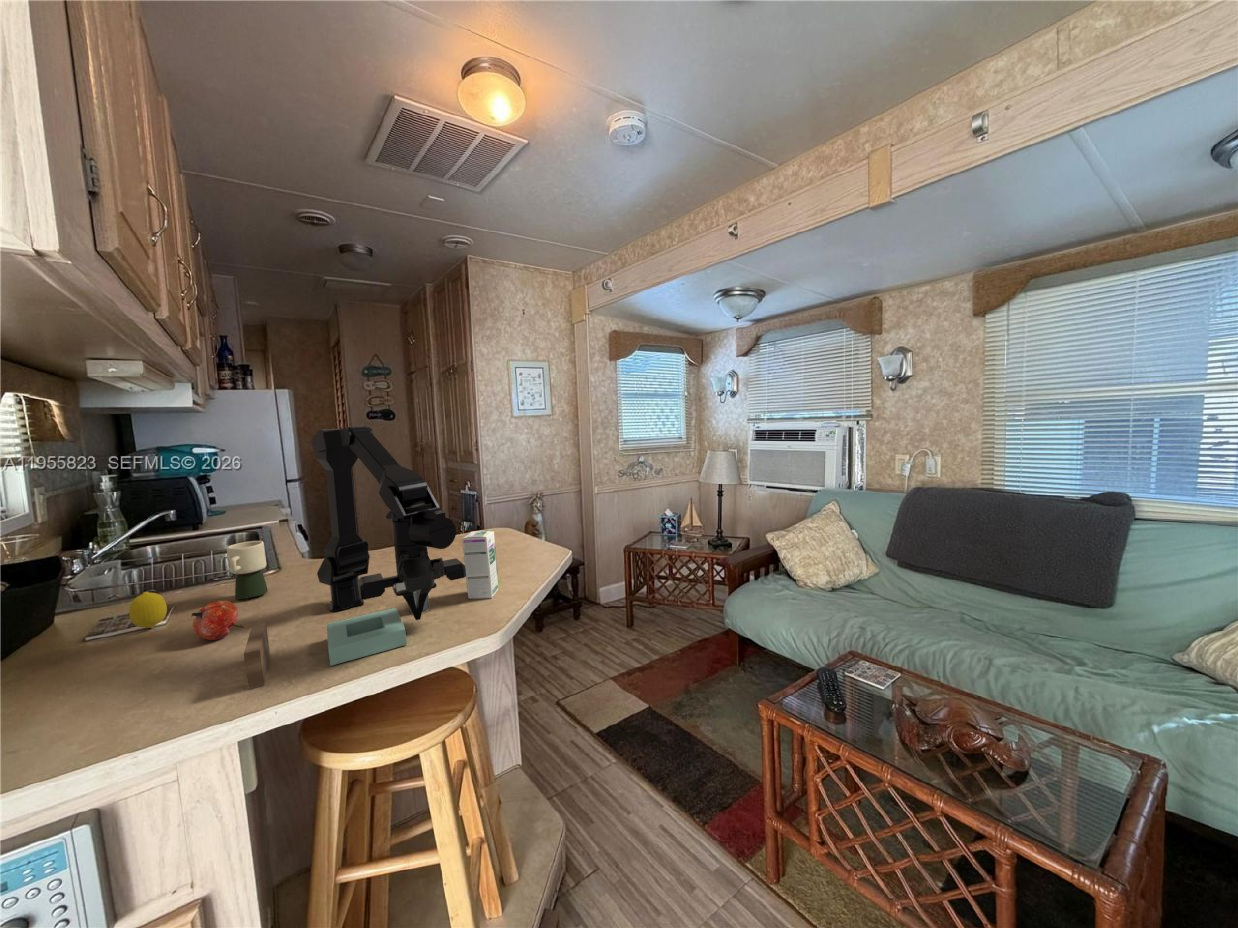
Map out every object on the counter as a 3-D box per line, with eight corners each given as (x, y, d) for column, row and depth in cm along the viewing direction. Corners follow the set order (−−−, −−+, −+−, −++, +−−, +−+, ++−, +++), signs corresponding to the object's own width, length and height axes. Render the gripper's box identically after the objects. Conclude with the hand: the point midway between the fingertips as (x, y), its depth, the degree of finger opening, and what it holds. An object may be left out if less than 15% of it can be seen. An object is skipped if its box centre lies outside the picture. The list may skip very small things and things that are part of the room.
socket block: (328, 638, 90) (326, 623, 90) (397, 621, 96) (395, 607, 96) (330, 665, 80) (328, 649, 80) (406, 644, 86) (405, 628, 86)
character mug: (249, 589, 119) (243, 539, 118) (280, 587, 120) (274, 537, 119) (220, 607, 109) (212, 552, 107) (254, 604, 110) (247, 549, 108)
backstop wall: (256, 658, 84) (252, 625, 83) (270, 654, 85) (266, 622, 84) (248, 689, 74) (243, 653, 73) (264, 685, 75) (259, 649, 74)
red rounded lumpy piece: (226, 637, 98) (171, 625, 91) (250, 604, 100) (198, 589, 93) (238, 650, 94) (181, 639, 86) (262, 615, 96) (209, 601, 89)
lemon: (175, 624, 100) (170, 588, 99) (142, 636, 95) (136, 598, 94) (159, 621, 102) (153, 585, 101) (125, 633, 97) (119, 595, 96)
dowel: (408, 609, 103) (404, 573, 102) (427, 604, 105) (424, 569, 104) (411, 615, 100) (407, 578, 99) (431, 610, 102) (427, 574, 101)
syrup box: (492, 598, 107) (488, 536, 105) (466, 599, 107) (461, 537, 106) (499, 589, 113) (495, 529, 111) (474, 589, 113) (470, 530, 111)
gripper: (359, 562, 79) (368, 650, 81) (470, 542, 89) (477, 620, 91) (354, 547, 89) (362, 627, 90) (455, 530, 99) (461, 602, 100)
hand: (417, 619), depth 93 cm, fingers closed
